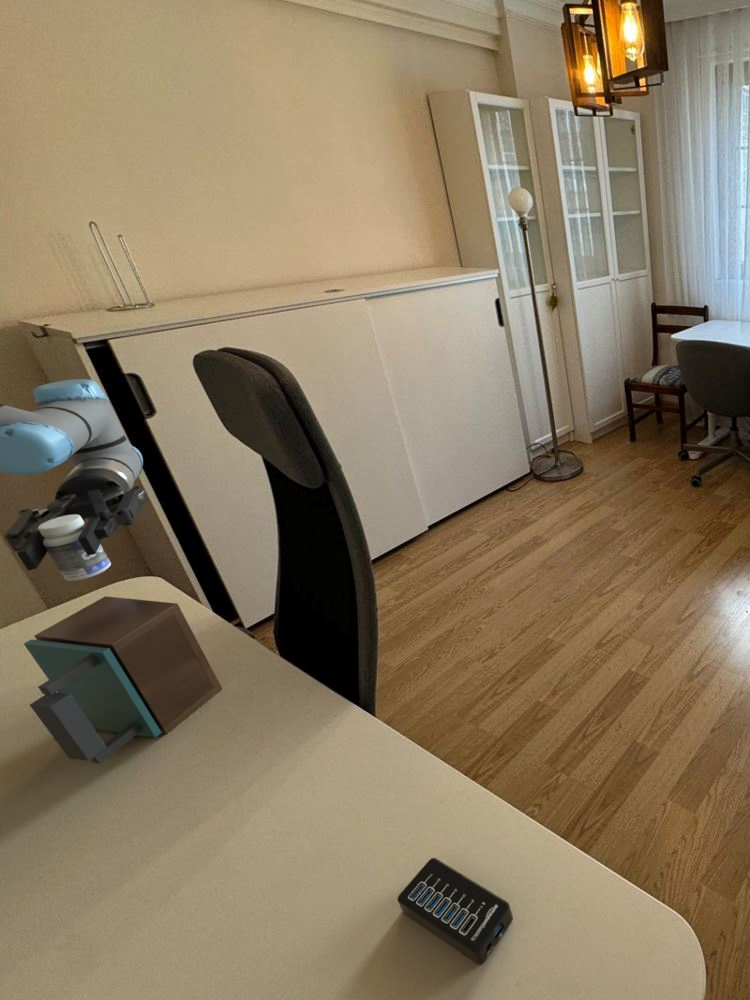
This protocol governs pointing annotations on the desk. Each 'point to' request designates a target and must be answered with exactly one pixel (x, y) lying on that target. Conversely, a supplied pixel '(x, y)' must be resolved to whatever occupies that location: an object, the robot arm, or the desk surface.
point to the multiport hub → (456, 910)
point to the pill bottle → (71, 548)
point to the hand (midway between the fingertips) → (57, 553)
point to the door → (87, 700)
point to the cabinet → (146, 653)
